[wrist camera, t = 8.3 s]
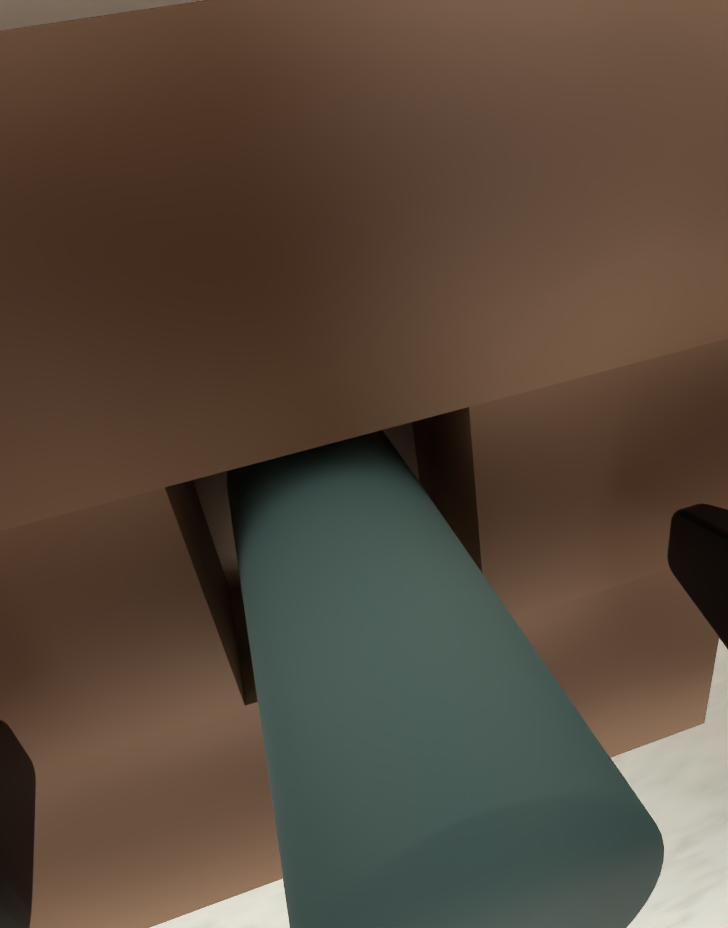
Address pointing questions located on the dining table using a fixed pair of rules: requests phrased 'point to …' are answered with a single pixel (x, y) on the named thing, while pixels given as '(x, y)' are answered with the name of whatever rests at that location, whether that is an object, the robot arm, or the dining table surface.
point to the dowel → (417, 718)
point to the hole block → (340, 372)
